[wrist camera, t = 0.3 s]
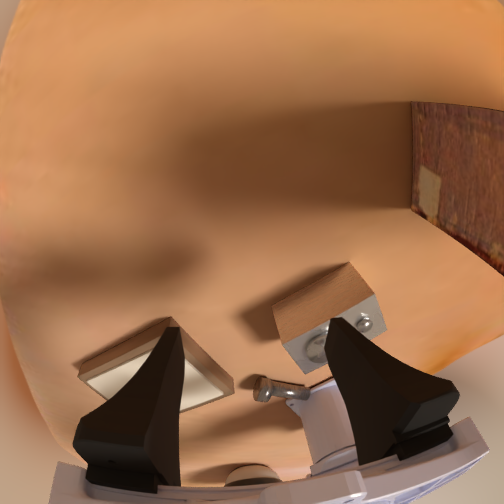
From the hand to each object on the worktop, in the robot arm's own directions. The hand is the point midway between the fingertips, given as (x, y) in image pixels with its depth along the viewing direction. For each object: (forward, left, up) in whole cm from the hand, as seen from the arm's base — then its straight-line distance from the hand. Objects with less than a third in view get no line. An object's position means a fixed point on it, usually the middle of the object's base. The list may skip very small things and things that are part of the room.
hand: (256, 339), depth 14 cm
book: (-5, -27, -10) cm, 30 cm away
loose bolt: (-17, +4, -10) cm, 20 cm away
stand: (-7, +15, -10) cm, 19 cm away
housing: (-8, -3, -10) cm, 13 cm away
